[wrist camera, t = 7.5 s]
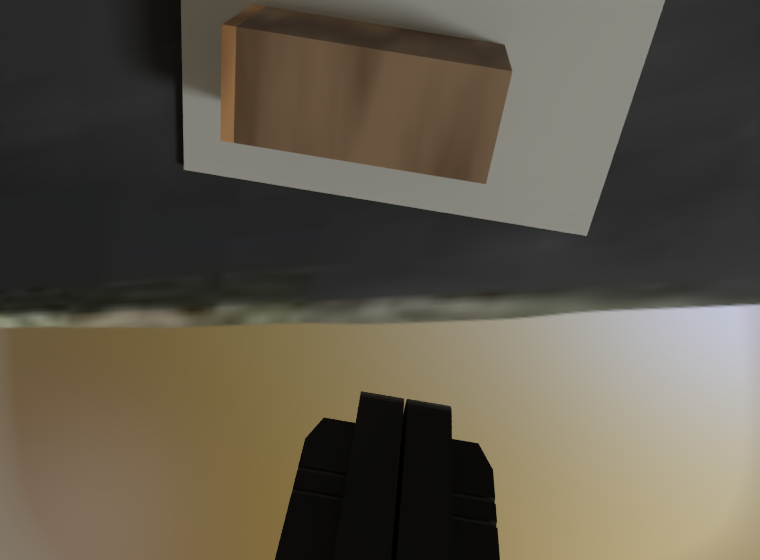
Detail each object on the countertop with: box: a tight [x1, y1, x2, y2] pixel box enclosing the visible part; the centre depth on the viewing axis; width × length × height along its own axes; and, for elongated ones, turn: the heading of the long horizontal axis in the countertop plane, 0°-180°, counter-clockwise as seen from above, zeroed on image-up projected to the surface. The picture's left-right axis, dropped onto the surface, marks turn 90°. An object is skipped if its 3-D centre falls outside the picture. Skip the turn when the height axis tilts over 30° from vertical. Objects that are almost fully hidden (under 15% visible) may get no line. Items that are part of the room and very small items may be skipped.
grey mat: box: [181, 0, 665, 236], centre depth 33 cm, size 22×13×1 cm, turn 82°
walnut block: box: [220, 4, 512, 184], centre depth 31 cm, size 5×5×12 cm
